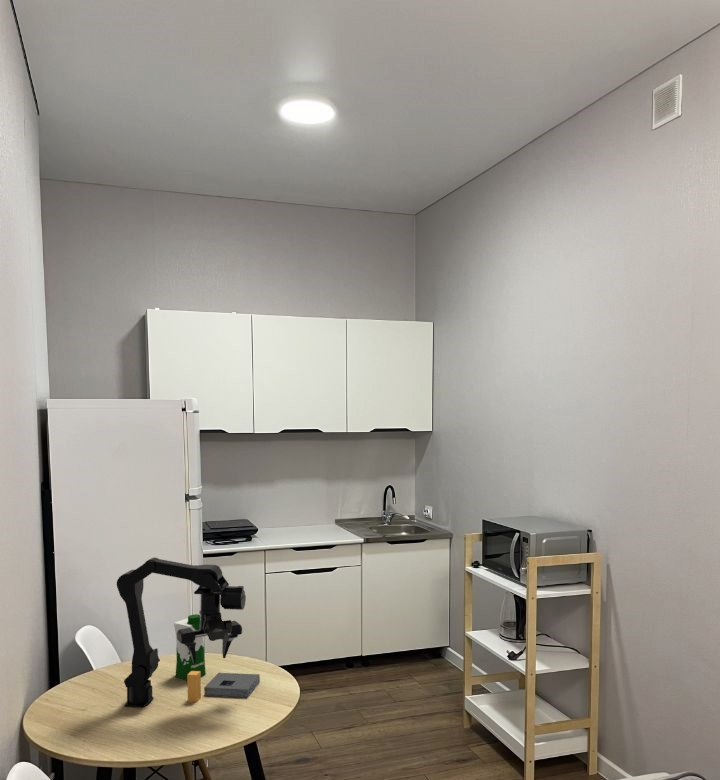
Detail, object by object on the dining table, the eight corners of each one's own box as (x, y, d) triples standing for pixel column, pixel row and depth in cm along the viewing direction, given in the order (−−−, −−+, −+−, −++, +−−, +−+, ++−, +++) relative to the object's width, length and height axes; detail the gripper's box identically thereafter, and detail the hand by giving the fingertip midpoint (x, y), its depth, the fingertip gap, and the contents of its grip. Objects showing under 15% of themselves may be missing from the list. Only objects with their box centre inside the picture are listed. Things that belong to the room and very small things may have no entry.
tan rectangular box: (187, 701, 203) (187, 674, 204) (191, 697, 206) (191, 670, 207) (197, 701, 203) (196, 675, 203) (200, 697, 206) (200, 671, 206)
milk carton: (189, 682, 218) (188, 620, 218) (171, 677, 223) (170, 616, 224) (209, 674, 225) (208, 613, 226) (191, 668, 230) (191, 609, 231)
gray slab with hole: (204, 695, 207) (204, 687, 207) (218, 680, 219) (218, 672, 219) (247, 697, 205) (247, 689, 205) (259, 682, 217) (259, 674, 217)
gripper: (187, 620, 191) (186, 675, 190) (249, 610, 201) (248, 663, 200) (176, 610, 201) (175, 663, 200) (235, 601, 210) (235, 652, 210)
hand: (209, 660), depth 202 cm, fingers open, 9 cm apart
